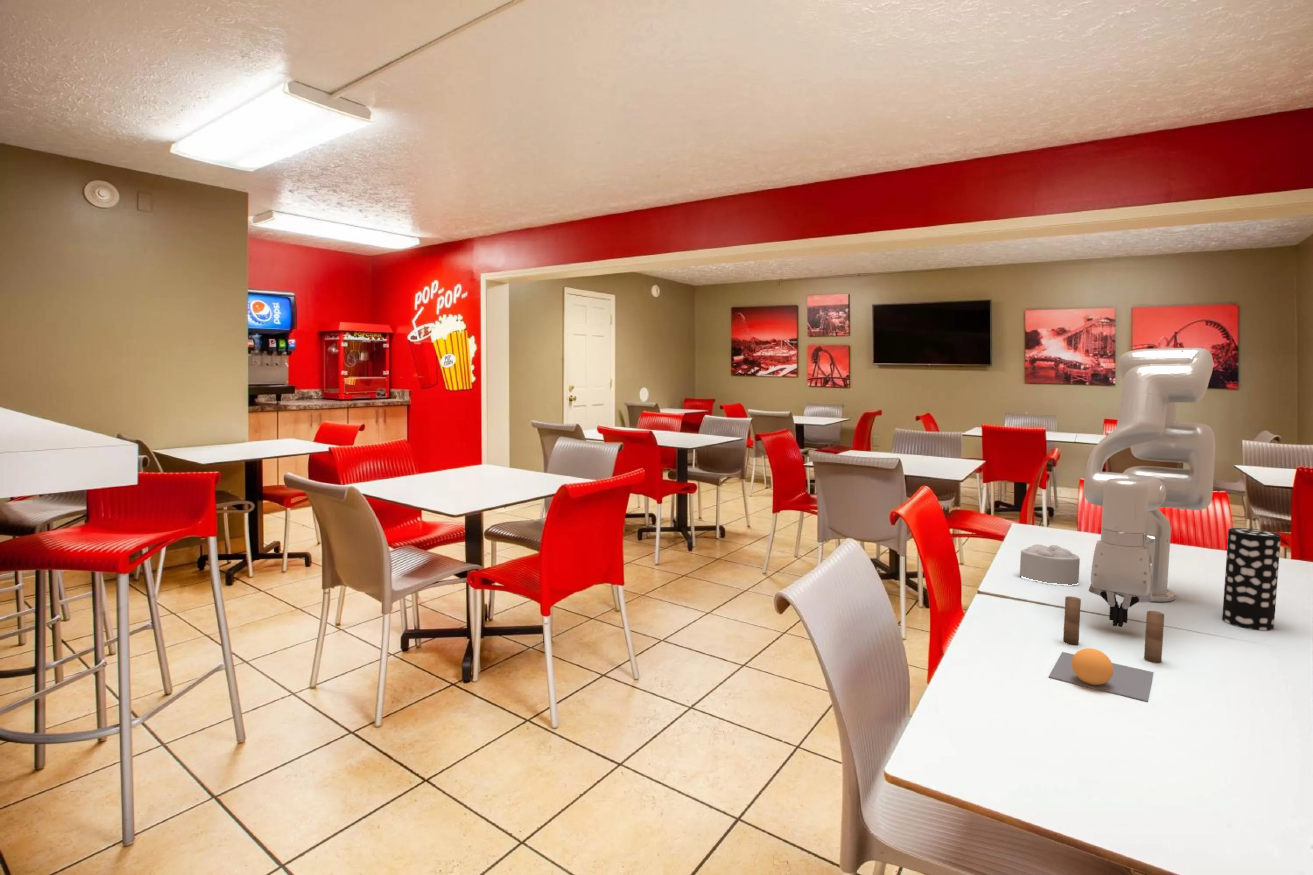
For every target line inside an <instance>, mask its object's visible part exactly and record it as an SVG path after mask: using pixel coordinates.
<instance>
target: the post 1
mask: <svg viewBox="0 0 1313 875" xmlns="http://www.w3.org/2000/svg"><path fill="white" fill-rule="evenodd" d="M1081 605H1082V601H1081V598H1079V597H1076V596H1068V595H1067V596H1065V599H1064V619H1063V620H1064V621H1063V638H1062V640H1063V641H1064V642H1065V643H1064V642H1063V641H1062V642H1063V643H1064V644H1066V643H1067V645H1071V646H1078V645H1079V643H1080V641H1079V640H1080V627H1081V626H1080V622H1081Z"/></svg>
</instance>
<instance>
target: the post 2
mask: <svg viewBox="0 0 1313 875" xmlns="http://www.w3.org/2000/svg"><path fill="white" fill-rule="evenodd" d="M1164 627H1165V613H1164V612H1160V611H1156V610H1147V611H1146V621H1145V636H1144V638H1145V639H1144V653H1143V659H1144V660H1145V661H1147V662H1150V663H1154V664H1161V663H1162V660H1163V659H1162V657H1163V645H1164V644H1163V643H1164V642H1163V641H1164Z"/></svg>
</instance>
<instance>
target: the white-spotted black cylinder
mask: <svg viewBox="0 0 1313 875" xmlns="http://www.w3.org/2000/svg"><path fill="white" fill-rule="evenodd" d="M1281 539H1282V535H1281V533H1278V532H1274V531H1269V530H1263V529H1257V528H1244V527H1243V528H1242V527H1232V528H1231V527H1230V528H1228V532H1227V546H1226V561H1225V571H1224V572H1225V573H1224V574H1225V575H1224V588H1223V602H1222V604H1223V605H1222V614H1221V615H1222V618H1221V620H1222V621H1223V622H1225V623H1226V624H1229V625H1231V626H1235V627H1239V628H1242V629H1243V628H1244V629H1248V630H1253V631H1254V630H1255V631H1273V630H1274V629H1275V618H1276V617H1275V615H1276V604H1277V593H1278V591H1277V590H1278V581H1279V580H1278V578H1279V565H1280V551H1281V542H1282V541H1281Z"/></svg>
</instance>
